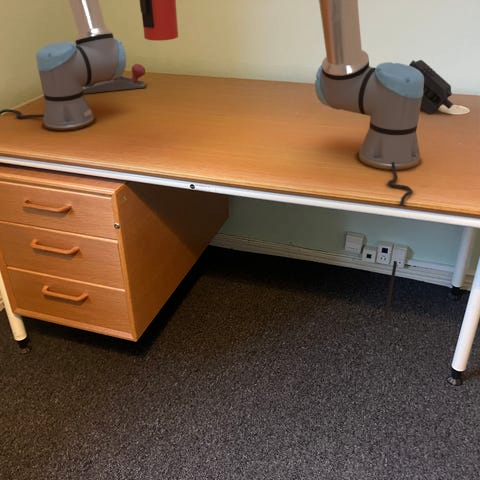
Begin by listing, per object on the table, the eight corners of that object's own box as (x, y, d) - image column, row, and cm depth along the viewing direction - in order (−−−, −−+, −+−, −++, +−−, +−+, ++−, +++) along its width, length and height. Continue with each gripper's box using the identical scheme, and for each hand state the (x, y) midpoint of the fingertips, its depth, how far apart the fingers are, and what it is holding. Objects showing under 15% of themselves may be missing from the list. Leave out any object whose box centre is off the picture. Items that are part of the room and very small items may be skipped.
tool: (390, 90, 180) (417, 54, 169) (433, 128, 176) (464, 93, 165) (382, 95, 176) (409, 57, 165) (425, 133, 172) (456, 97, 161)
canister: (182, 33, 138) (179, -10, 133) (172, 40, 131) (169, -5, 126) (150, 33, 140) (146, -10, 134) (139, 40, 133) (134, -6, 127)
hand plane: (62, 90, 197) (53, 48, 189) (145, 82, 205) (140, 41, 197) (62, 96, 191) (54, 53, 184) (148, 87, 199) (143, 45, 191)
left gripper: (133, -80, 112) (145, 32, 124) (189, -83, 128) (195, 18, 140) (106, -80, 116) (120, 30, 128) (164, -82, 131) (172, 16, 143)
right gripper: (410, -92, 150) (399, -10, 161) (414, -92, 129) (402, 3, 140) (438, -93, 148) (425, -10, 159) (447, -93, 128) (432, 3, 139)
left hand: (159, 23), depth 134 cm, fingers closed on canister, 9 cm apart
